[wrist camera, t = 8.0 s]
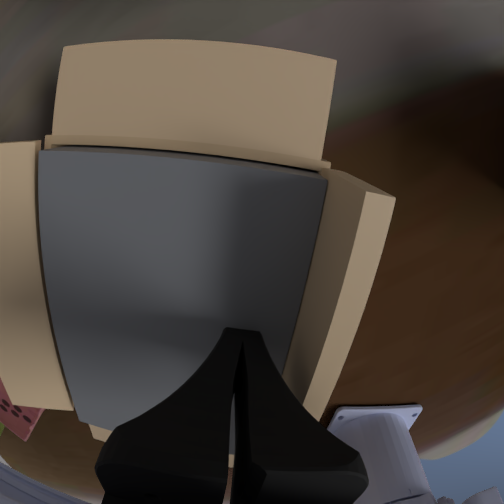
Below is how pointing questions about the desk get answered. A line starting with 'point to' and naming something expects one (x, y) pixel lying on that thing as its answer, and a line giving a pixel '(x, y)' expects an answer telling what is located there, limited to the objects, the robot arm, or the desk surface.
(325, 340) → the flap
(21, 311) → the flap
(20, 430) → the book
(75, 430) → the desk surface
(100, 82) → the carton
